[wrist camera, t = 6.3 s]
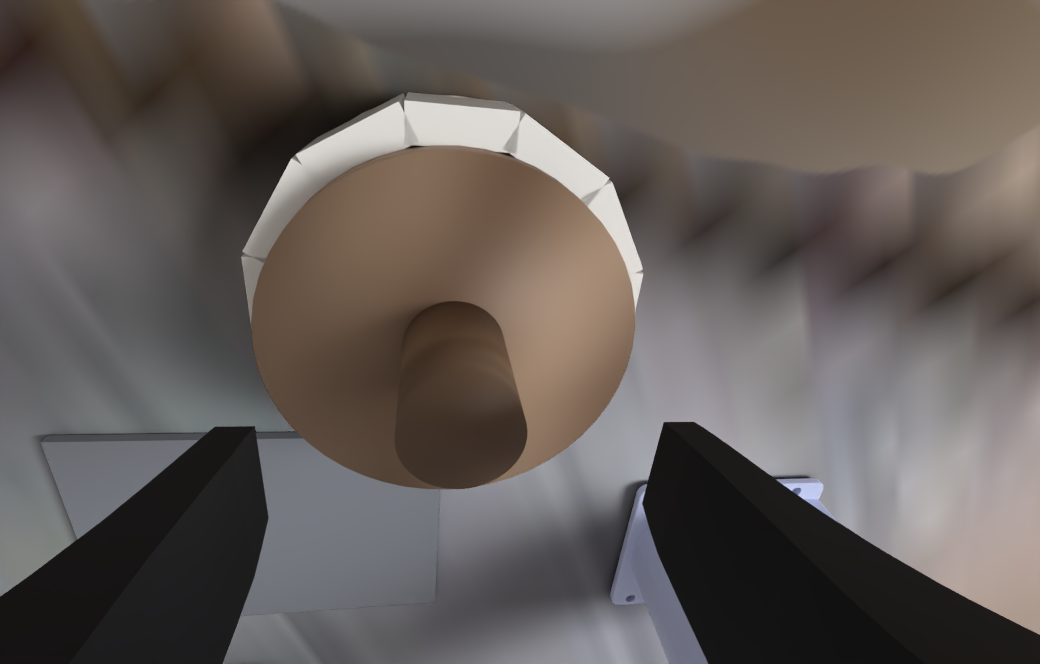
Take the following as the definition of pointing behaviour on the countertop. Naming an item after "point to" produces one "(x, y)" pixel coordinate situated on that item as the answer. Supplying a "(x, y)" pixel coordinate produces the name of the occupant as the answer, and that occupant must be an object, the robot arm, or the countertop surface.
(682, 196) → the countertop surface
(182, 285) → the countertop surface
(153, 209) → the countertop surface
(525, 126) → the bowl
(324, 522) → the mat
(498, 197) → the lid
